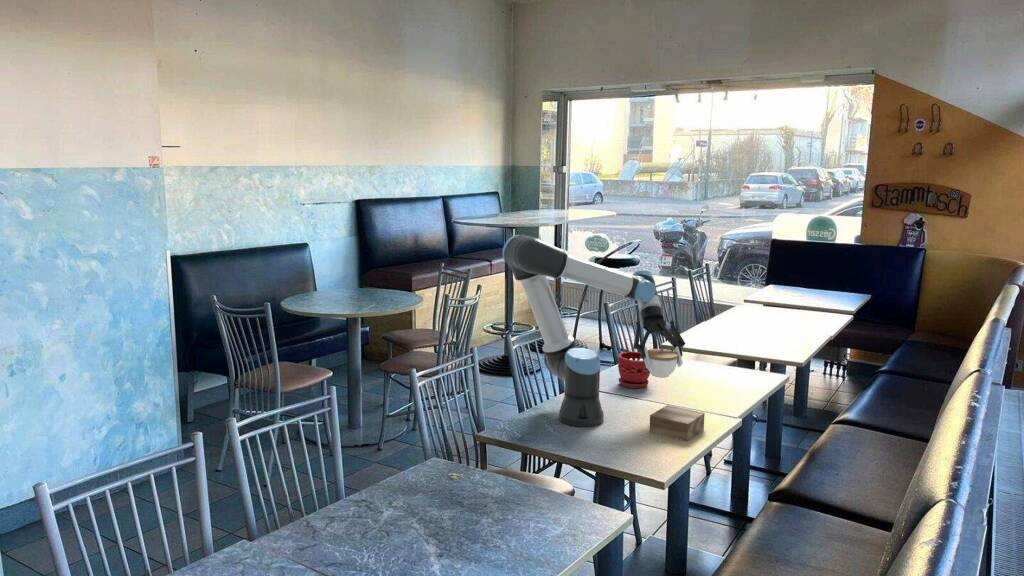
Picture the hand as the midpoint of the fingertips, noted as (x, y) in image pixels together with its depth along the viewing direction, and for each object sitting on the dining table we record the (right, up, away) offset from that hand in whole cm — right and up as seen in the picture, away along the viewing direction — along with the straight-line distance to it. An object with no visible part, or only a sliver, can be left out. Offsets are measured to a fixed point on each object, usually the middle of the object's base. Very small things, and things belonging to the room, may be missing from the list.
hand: (664, 365), depth 246 cm
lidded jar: (-1, -4, +4) cm, 5 cm away
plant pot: (-3, -12, +40) cm, 42 cm away
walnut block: (+2, -20, -9) cm, 22 cm away
